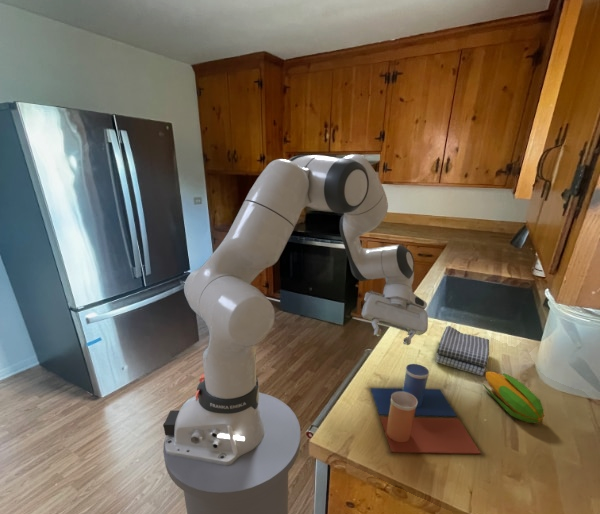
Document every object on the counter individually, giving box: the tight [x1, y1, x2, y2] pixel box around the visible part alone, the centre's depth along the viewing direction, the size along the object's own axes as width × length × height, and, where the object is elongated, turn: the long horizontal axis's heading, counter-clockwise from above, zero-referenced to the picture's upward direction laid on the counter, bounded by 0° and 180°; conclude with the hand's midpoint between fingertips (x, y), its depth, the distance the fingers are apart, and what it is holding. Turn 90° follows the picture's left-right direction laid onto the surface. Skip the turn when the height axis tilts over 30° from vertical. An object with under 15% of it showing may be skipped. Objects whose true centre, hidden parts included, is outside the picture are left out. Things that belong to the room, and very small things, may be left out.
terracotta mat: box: [380, 416, 482, 455], centre depth 78 cm, size 20×11×1 cm, turn 90°
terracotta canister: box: [386, 391, 418, 442], centre depth 76 cm, size 6×6×10 cm
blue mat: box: [370, 387, 458, 418], centre depth 89 cm, size 20×11×1 cm, turn 90°
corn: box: [482, 371, 545, 424], centre depth 88 cm, size 7×8×20 cm
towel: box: [435, 325, 490, 377], centre depth 110 cm, size 15×18×8 cm
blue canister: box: [402, 363, 430, 408], centre depth 88 cm, size 6×6×10 cm
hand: (392, 339), depth 97 cm, fingers open, 8 cm apart
